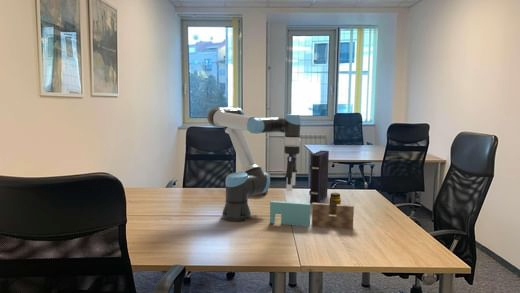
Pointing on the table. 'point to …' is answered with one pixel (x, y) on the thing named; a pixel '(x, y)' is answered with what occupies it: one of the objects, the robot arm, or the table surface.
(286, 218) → the teal plate
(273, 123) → the robot arm
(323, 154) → the book
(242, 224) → the table surface
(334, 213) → the condiment
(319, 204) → the walnut plate
